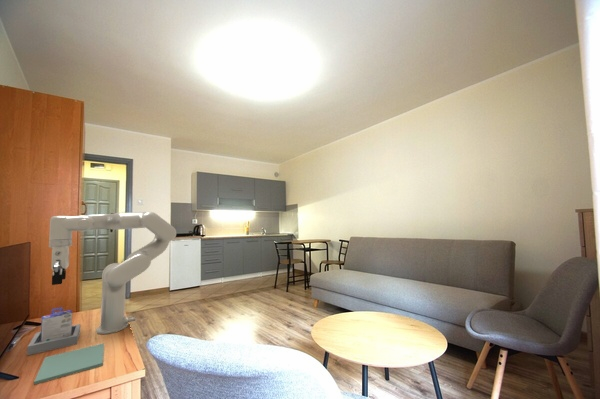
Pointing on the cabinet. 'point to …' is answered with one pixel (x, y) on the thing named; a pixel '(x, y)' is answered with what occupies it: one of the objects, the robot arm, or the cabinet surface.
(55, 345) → the pocket holder
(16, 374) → the cabinet surface
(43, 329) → the ink cartridge box
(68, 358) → the place mat
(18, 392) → the cabinet surface
